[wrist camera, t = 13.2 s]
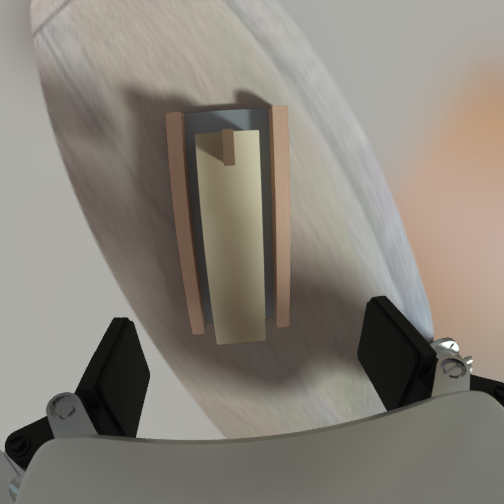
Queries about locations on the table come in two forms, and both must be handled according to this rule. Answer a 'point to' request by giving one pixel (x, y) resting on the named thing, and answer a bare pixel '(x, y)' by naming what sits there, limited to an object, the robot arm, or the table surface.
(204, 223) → the tapered cream block
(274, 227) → the jig cradle
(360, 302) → the table surface
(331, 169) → the table surface
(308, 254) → the table surface
